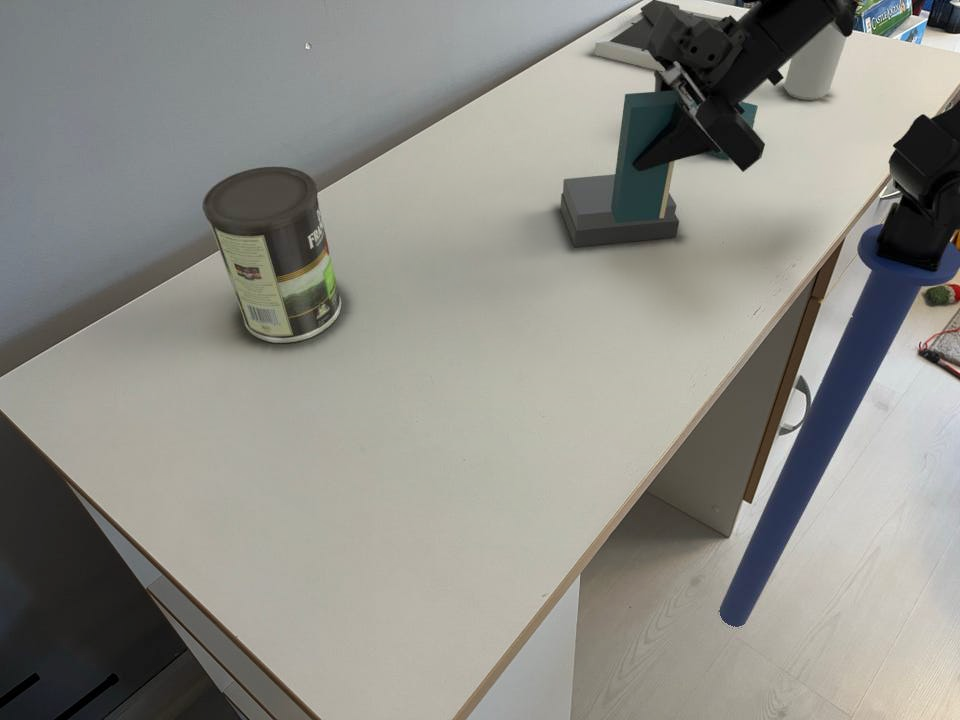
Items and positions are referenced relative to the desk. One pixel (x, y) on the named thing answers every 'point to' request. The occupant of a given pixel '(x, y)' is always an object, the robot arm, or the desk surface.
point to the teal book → (640, 125)
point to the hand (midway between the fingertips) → (631, 160)
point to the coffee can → (275, 252)
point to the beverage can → (815, 66)
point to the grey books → (607, 215)
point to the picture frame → (639, 37)
